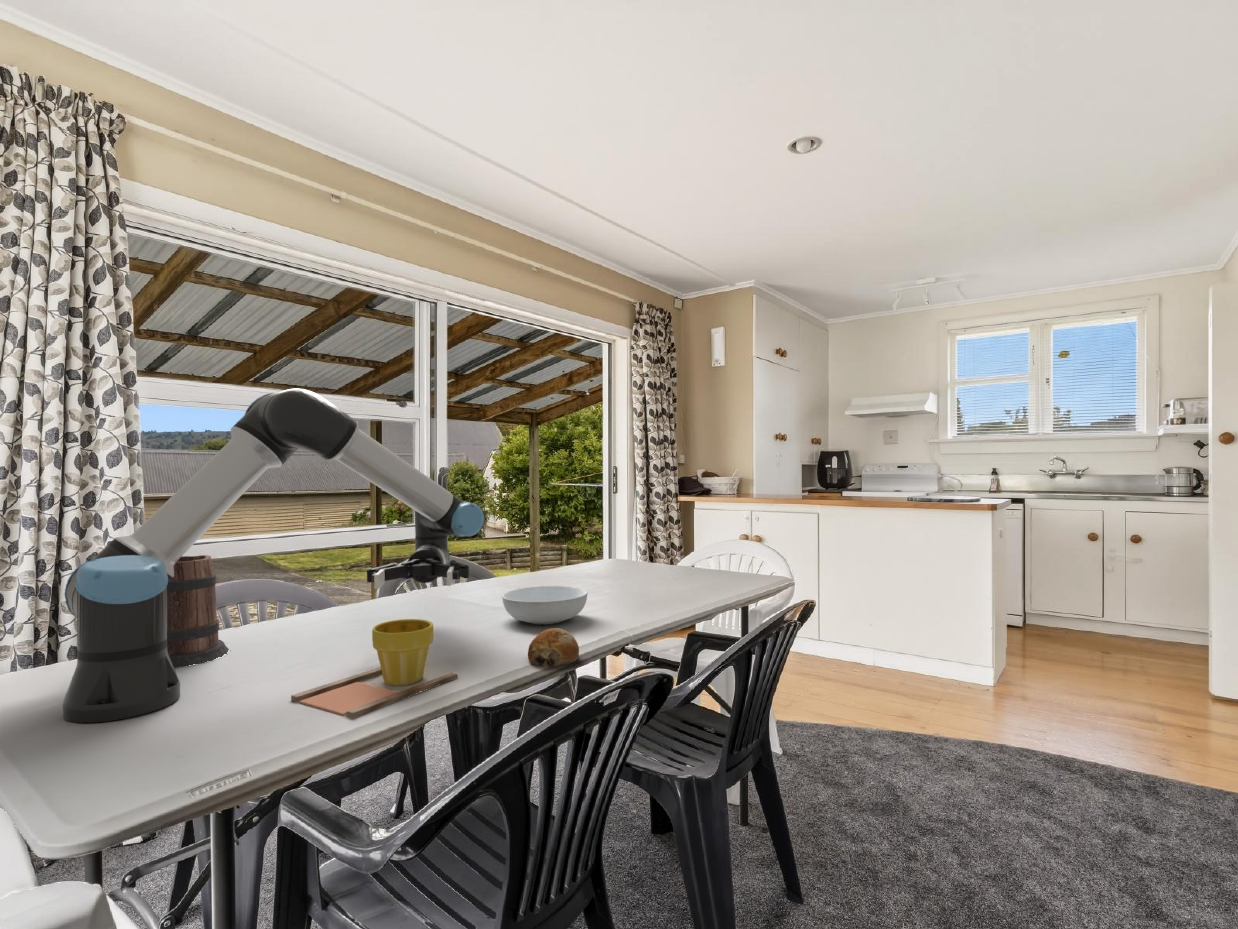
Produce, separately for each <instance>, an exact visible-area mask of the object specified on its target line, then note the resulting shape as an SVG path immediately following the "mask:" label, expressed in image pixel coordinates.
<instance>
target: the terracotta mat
mask: <svg viewBox="0 0 1238 929" xmlns="http://www.w3.org/2000/svg"><path fill="white" fill-rule="evenodd" d="M397 692H398V690H397V691H396V690H394V689H393V690H392V689H389V688H384V687H379V686H375V685H371V684H367V683H364V682H360V681H359V682H355V683H352V684H349V685H346V686H343V687H340V688H337V689H334V690H331V691H328V692H325V693H322V694H319V695H316V696H313V697H310V698H307V699H304V700H301V701H299V703H300V704H303V705H306V706H309V707H313V708H316V709H320V710H324V711H327V712H330V713H333V714H337V715H340V716H347V711H348V710H351V709H354V708H356V707H359V706H362V705H365V704H367V703H370V702H373V701H375V700H378V699H381V698H384V697H386V696H389V695H392V694H394V693H397Z"/></svg>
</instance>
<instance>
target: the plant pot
mask: <svg viewBox="0 0 1238 929" xmlns="http://www.w3.org/2000/svg"><path fill="white" fill-rule="evenodd" d="M371 636H372V637H371V640H372V647H373V649H375V650H376V653H377V656H378V661H379V667H381V670H382V674H381V675H382V678H383V683H384V684H386V685H389V686H394V685H395V686H398V685H400V686H407V685H406V684H408V685H412V683H413V684H416V683H418V682H420V681H421V680H422V679H423V677H424V673H425V668H426V664H427V659H428V654H429V651H430V650H429V649H430V646H431V645H432V644H433V642H434V623H433V622H432V621H430V620H426V619H421V618H420V619H419V618H403V619H396V620H395V619H394V620H389V621H384V622H381V623H378V624H376V625H374V627H372V632H371ZM417 681H418V682H417ZM415 682H416V683H415ZM398 687H399V686H398Z"/></svg>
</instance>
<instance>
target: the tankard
mask: <svg viewBox="0 0 1238 929" xmlns="http://www.w3.org/2000/svg"><path fill="white" fill-rule="evenodd" d="M213 565H214V564H213V562H212V556H211V555H207V554H205V555H196V556H194V555H193V556H189V555H188V556H187V555H185V556H184V555H182V556H181V557H180V559H179V560H178V561H177V562H176V563H175V564H174V577H173V578H172V579H171V580H170V581H169V582H168V584H167V652H168V655H169V657H170V660H171V662H172V664H173V667H174V669H179V668H178V667H180V668H187V667H190V666H189V665H193V664H198V665H201V664H206V663H208V662H207V661H210V662H213V660H214V659H216V658H218V657H222V656H223V655H224V654H227V652H228V650H229V649H230V648H229V647H227V645H226V644H225V641H224V640H223V641H222V640H221V639H219V630H220V620H219V619H218V616H217V615H218V613H217V611H218V610H217V592H216V584H217V574H216V573H215V571H214V566H213ZM228 648H229V649H228ZM227 655H228V654H227ZM222 658H223V657H222ZM214 661H215V660H214ZM205 662H206V663H205ZM186 666H187V667H186ZM193 666H194V665H193ZM176 667H177V668H176Z"/></svg>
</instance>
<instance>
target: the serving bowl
mask: <svg viewBox="0 0 1238 929" xmlns="http://www.w3.org/2000/svg"><path fill="white" fill-rule="evenodd" d="M501 599H502V603H503V607H504V610H506V612H507V614H509V615H510V617H512V618H514V619H516V620H518V621H521V622H525V623H529V624H531V623H532V625H541V624H544V625H553V624H554V623H555V624H559V623H561V622H563V621H567V620H570V619H572V618H574V617H575V616H578V614H580V613H581V611H583V609H584V608H585V605H586V603H587V600H588V591H587V590H586V589H584V588H581V587H578V586H570V585H539V586H529V587H527V586H526V587H522V588H515V589H511V590H508V591H506V592H504V593H503V594H502V595H501Z"/></svg>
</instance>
